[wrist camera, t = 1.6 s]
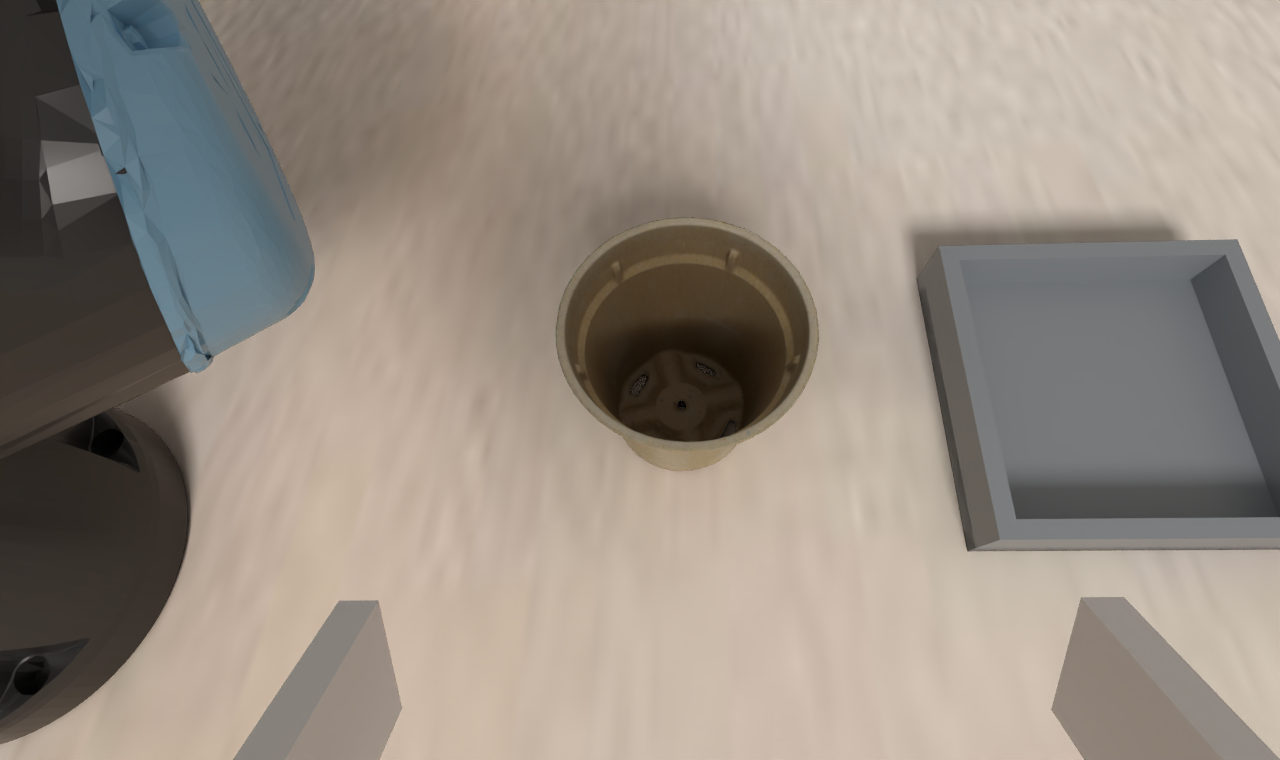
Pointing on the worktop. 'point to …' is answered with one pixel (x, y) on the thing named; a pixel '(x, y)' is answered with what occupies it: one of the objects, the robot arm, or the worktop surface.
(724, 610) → the worktop surface
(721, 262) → the flower pot
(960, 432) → the tray
